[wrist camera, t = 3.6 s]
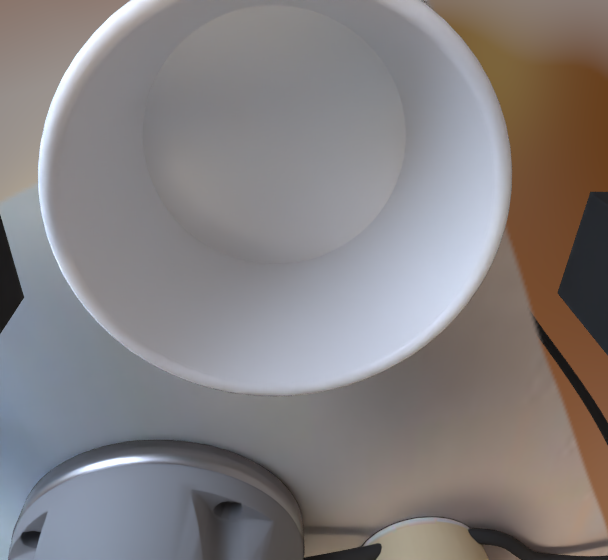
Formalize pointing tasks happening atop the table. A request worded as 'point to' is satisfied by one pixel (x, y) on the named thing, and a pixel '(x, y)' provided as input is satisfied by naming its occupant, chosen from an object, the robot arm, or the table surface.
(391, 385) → the table surface
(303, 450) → the table surface
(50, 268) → the table surface
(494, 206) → the food container
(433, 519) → the coffee cup
